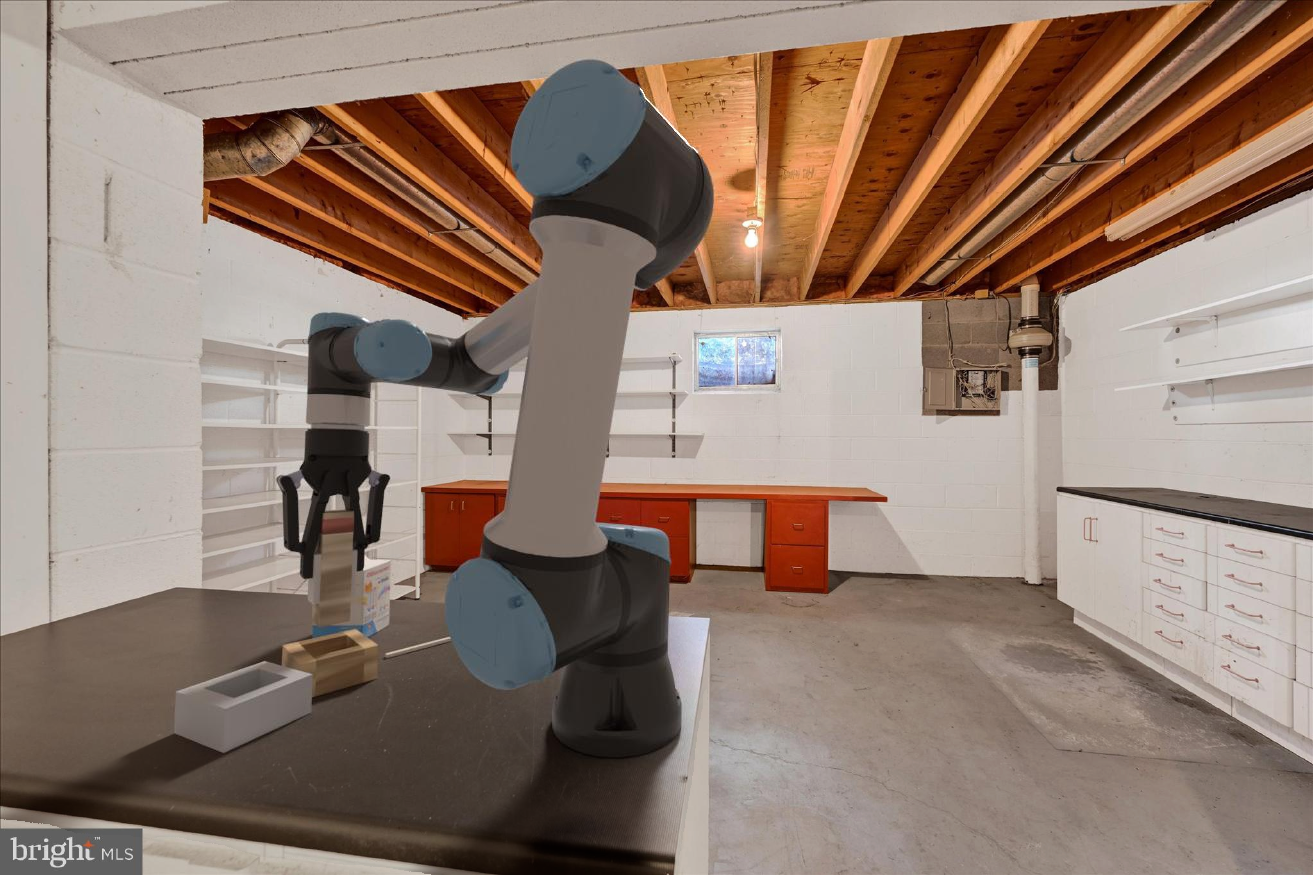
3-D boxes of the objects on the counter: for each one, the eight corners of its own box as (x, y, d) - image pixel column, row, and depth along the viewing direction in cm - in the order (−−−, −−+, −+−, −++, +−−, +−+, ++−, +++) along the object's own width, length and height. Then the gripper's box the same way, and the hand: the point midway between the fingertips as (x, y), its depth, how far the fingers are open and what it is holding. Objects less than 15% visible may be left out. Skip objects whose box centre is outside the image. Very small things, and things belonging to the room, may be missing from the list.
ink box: (361, 642, 83) (364, 559, 83) (310, 641, 83) (313, 558, 84) (390, 624, 92) (392, 549, 92) (343, 623, 92) (346, 548, 92)
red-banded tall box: (350, 621, 71) (354, 511, 71) (319, 627, 68) (323, 513, 68) (341, 614, 73) (345, 509, 73) (311, 620, 70) (315, 510, 71)
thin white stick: (451, 640, 85) (451, 637, 85) (386, 658, 77) (387, 654, 77) (449, 639, 85) (449, 636, 85) (385, 656, 78) (385, 653, 78)
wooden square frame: (377, 678, 70) (378, 645, 71) (299, 701, 64) (300, 664, 64) (354, 659, 76) (355, 628, 77) (281, 678, 70) (282, 645, 70)
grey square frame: (311, 712, 61) (312, 674, 61) (223, 753, 53) (225, 708, 53) (263, 697, 65) (264, 661, 65) (174, 733, 56) (175, 691, 56)
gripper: (391, 430, 80) (386, 582, 79) (257, 425, 67) (249, 605, 67) (411, 430, 75) (406, 592, 74) (270, 424, 62) (262, 619, 62)
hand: (332, 598), depth 70 cm, fingers closed on red-banded tall box, 4 cm apart
